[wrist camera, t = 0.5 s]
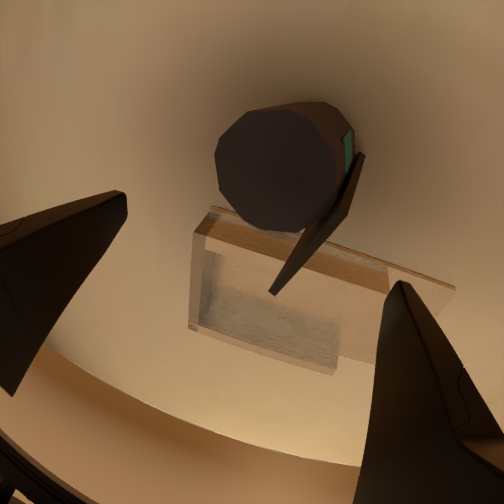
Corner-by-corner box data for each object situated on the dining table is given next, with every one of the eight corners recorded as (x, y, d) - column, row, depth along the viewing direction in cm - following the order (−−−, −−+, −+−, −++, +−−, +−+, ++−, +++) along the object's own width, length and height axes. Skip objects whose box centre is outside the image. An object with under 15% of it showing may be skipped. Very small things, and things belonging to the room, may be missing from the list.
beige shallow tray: (454, 287, 22) (463, 316, 19) (389, 364, 30) (389, 391, 27) (211, 205, 24) (193, 228, 22) (201, 306, 32) (188, 330, 29)
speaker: (388, 174, 18) (392, 257, 10) (321, 211, 22) (277, 304, 14) (322, 79, 17) (270, 80, 9) (258, 127, 20) (170, 172, 12)
